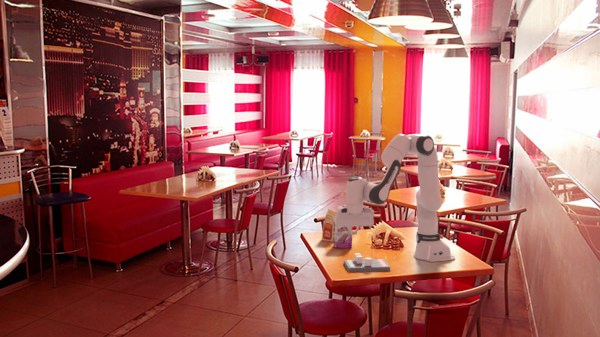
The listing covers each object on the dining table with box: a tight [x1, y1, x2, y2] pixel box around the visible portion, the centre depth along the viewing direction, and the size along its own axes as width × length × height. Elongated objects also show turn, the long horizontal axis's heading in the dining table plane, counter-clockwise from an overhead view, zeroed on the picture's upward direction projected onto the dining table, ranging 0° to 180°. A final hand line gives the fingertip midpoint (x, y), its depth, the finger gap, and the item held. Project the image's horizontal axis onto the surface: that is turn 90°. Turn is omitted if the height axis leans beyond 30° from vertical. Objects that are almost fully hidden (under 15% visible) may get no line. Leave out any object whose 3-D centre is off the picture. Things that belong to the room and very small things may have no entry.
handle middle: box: [356, 255, 363, 264], centre depth 282 cm, size 3×2×4 cm
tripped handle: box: [365, 257, 373, 266], centre depth 278 cm, size 3×2×4 cm
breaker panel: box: [343, 258, 391, 273], centre depth 283 cm, size 22×14×2 cm, turn 95°
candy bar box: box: [333, 220, 353, 249], centre depth 320 cm, size 11×5×16 cm, turn 84°
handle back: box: [353, 252, 362, 261], centre depth 287 cm, size 3×2×4 cm
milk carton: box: [321, 208, 338, 242], centre depth 338 cm, size 9×9×20 cm
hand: (354, 234), depth 275 cm, fingers closed
